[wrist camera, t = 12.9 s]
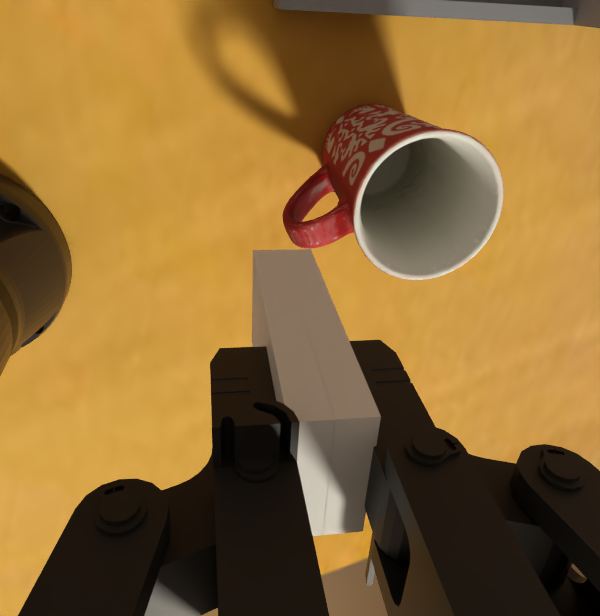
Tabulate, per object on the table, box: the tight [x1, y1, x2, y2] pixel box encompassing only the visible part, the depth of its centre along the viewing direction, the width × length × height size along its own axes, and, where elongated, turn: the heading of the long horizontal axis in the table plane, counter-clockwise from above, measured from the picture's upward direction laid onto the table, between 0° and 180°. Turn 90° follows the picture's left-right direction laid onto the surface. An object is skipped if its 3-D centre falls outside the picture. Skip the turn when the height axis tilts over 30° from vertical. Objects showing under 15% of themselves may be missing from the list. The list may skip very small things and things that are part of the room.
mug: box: [283, 104, 504, 280], centre depth 38 cm, size 13×9×14 cm
